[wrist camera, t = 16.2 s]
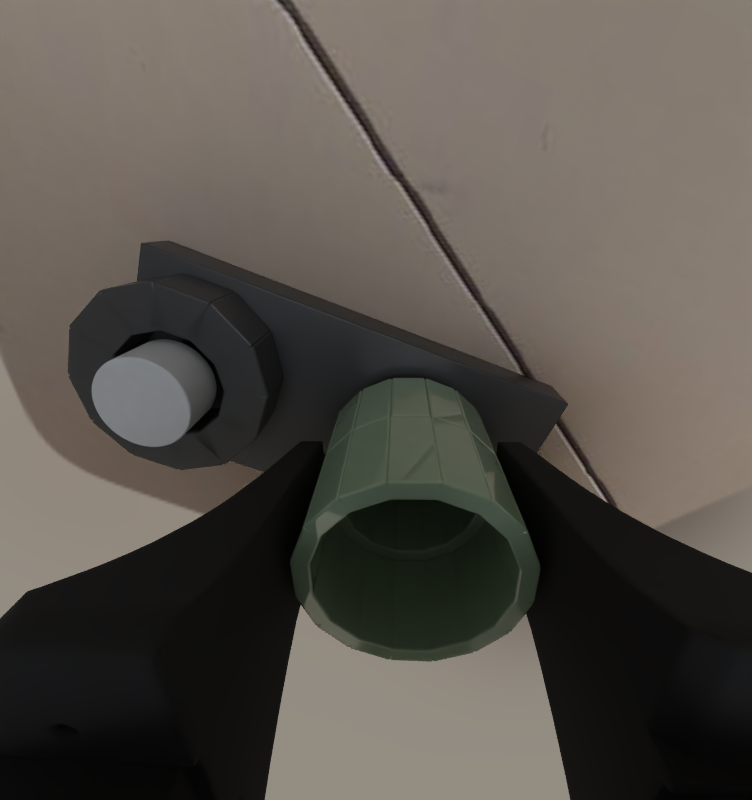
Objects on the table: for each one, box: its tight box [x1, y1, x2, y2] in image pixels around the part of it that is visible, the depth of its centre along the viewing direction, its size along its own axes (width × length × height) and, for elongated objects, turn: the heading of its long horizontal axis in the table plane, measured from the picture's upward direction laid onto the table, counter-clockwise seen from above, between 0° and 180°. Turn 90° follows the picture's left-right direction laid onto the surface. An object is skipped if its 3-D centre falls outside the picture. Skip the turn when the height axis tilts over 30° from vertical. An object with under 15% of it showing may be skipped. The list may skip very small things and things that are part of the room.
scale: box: [68, 241, 568, 472], centre depth 12 cm, size 14×6×3 cm, turn 70°
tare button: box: [92, 339, 217, 447], centre depth 10 cm, size 2×2×2 cm
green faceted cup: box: [290, 378, 541, 661], centre depth 10 cm, size 5×5×6 cm
